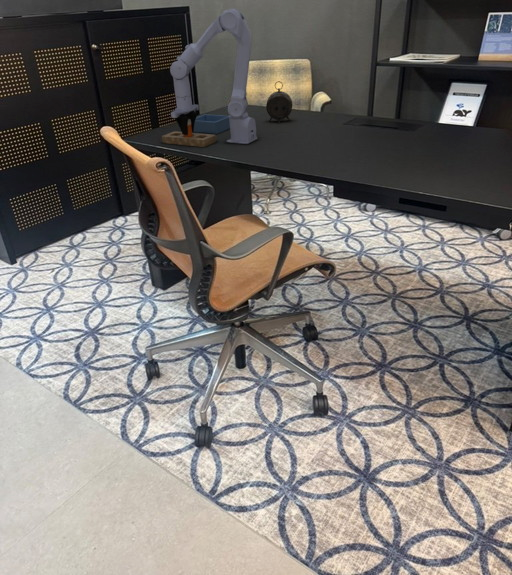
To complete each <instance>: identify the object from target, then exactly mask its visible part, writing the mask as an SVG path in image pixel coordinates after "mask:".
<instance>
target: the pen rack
mask: <svg viewBox="0 0 512 575" xmlns="http://www.w3.org/2000/svg"><path fill="white" fill-rule="evenodd" d="M192 135H193V136H191V137H184V135H183V134H182V132H181V131H176V130H175V131H174V130H173V131H171V132H168V133H166V134H164V135H161V140H162V143H163V144H169V145H170V144H171V145H179V146H188V147H189V146H190V147H200V148H206V147H207V146H210V145H212V144H214V143H216V142H217V136H216V135H217V134H212V133H200V132H193V133H192Z"/></svg>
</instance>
